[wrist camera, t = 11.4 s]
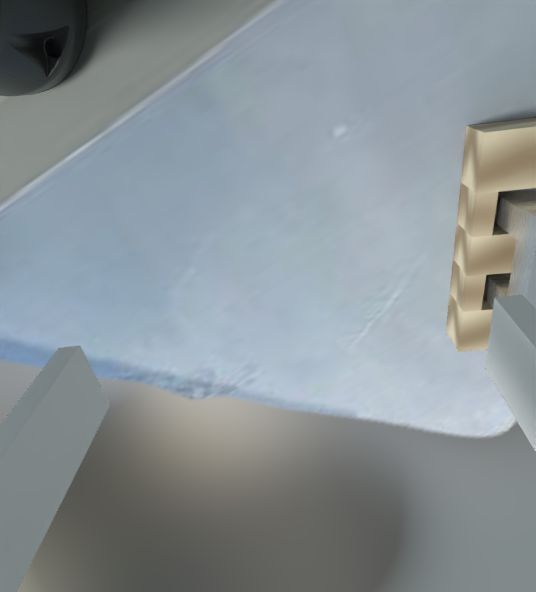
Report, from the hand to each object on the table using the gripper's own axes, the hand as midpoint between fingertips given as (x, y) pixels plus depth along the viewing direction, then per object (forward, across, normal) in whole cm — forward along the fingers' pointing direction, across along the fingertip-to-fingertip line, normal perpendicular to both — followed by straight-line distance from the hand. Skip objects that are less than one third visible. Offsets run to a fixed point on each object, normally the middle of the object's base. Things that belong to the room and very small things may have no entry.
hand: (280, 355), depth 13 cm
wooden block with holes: (+29, +20, -11) cm, 37 cm away
